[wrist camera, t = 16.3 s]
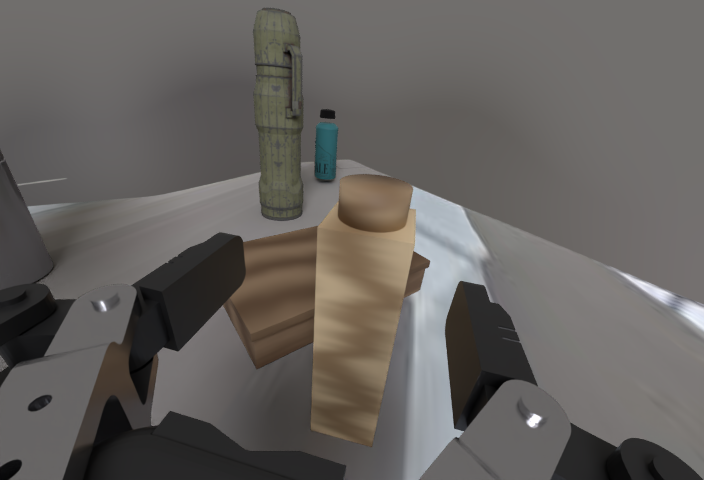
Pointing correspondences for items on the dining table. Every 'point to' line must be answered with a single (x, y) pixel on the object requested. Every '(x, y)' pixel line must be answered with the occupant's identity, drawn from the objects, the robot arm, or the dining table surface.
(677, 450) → the dining table surface
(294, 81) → the thermos
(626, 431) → the dining table surface
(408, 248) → the wooden square peg
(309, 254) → the board with square socket
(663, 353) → the dining table surface
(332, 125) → the beverage bottle
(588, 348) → the dining table surface
